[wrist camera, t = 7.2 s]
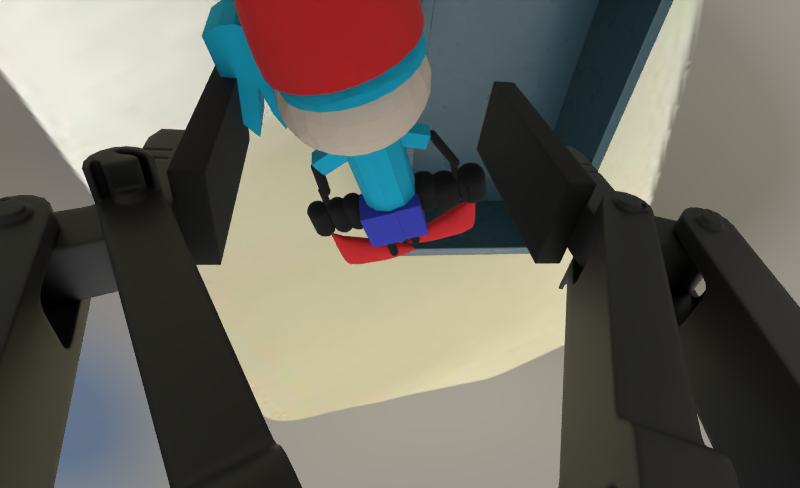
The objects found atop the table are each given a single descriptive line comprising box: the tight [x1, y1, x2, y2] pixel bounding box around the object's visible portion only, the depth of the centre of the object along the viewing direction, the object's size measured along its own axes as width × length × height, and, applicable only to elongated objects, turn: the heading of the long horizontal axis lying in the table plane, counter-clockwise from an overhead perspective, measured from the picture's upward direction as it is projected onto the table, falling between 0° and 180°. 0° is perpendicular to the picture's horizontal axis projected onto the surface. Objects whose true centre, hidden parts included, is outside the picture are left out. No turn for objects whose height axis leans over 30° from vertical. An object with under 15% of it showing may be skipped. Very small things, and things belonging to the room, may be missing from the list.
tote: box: [401, 0, 673, 256], centre depth 30 cm, size 20×13×7 cm, turn 174°
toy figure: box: [202, 0, 487, 264], centre depth 15 cm, size 8×5×15 cm
